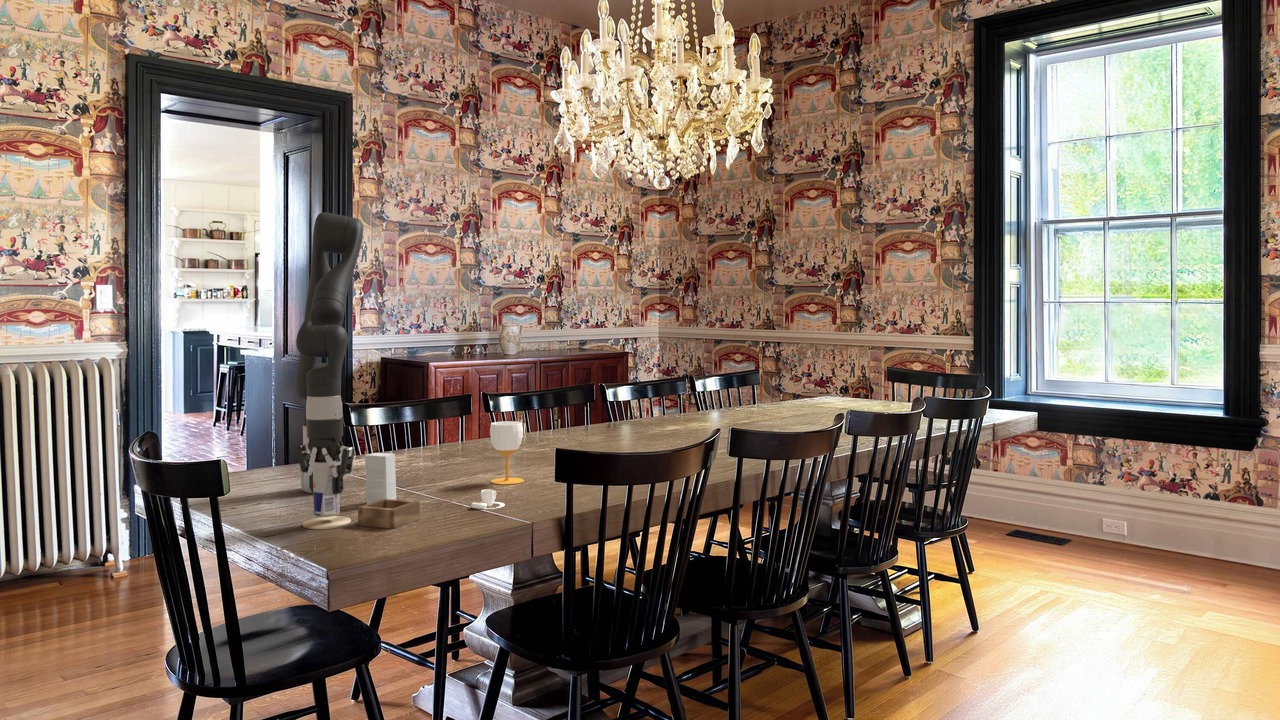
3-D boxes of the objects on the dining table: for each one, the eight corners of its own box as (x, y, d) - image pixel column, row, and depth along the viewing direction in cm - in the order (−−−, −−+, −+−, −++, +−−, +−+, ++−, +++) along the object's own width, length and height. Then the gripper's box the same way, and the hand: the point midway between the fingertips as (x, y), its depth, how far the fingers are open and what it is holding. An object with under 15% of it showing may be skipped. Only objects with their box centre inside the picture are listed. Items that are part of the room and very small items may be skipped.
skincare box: (397, 502, 222) (395, 453, 222) (386, 505, 218) (385, 456, 218) (375, 500, 224) (374, 452, 224) (365, 504, 220) (364, 455, 220)
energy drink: (317, 512, 203) (316, 458, 202) (342, 511, 203) (340, 458, 202) (311, 517, 197) (309, 463, 197) (336, 517, 198) (335, 462, 197)
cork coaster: (292, 527, 197) (292, 524, 197) (324, 517, 207) (324, 514, 207) (330, 530, 194) (330, 528, 194) (360, 520, 203) (360, 517, 203)
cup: (506, 477, 254) (506, 420, 253) (530, 480, 249) (530, 422, 248) (483, 482, 247) (482, 423, 246) (507, 486, 241) (506, 426, 240)
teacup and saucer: (475, 513, 212) (475, 495, 212) (462, 506, 218) (462, 490, 218) (510, 508, 217) (510, 491, 216) (496, 502, 223) (496, 486, 223)
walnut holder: (358, 525, 199) (357, 507, 199) (384, 515, 208) (384, 498, 207) (394, 528, 196) (394, 510, 195) (419, 518, 204) (419, 501, 204)
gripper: (286, 416, 198) (288, 493, 199) (340, 419, 193) (342, 498, 194) (309, 413, 205) (311, 487, 206) (362, 415, 200) (364, 491, 201)
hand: (326, 492), depth 200 cm, fingers closed on energy drink, 5 cm apart
